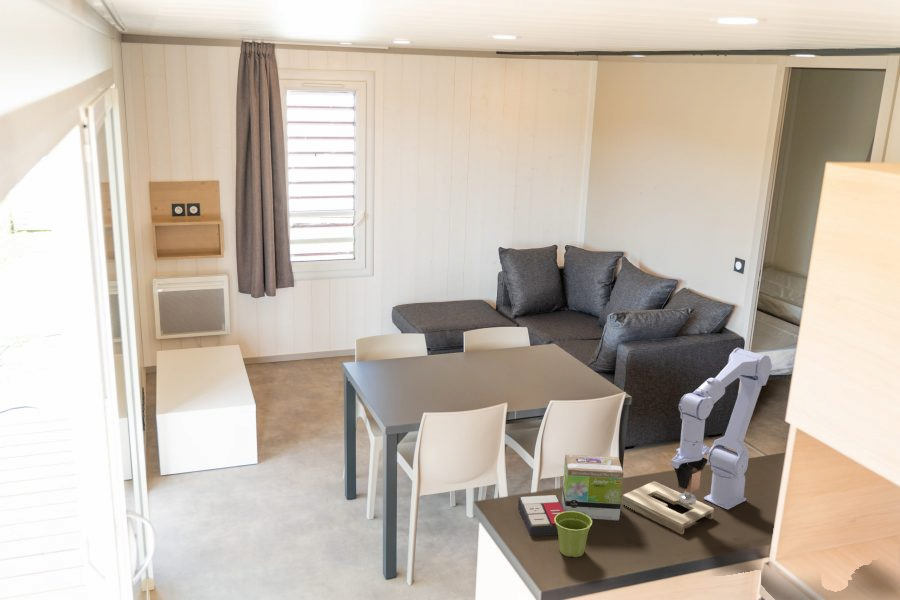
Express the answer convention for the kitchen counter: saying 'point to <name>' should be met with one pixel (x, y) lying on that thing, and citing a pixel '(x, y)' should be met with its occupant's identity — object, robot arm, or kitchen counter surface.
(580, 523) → the plant pot
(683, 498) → the peg
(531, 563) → the kitchen counter surface
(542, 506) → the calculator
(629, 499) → the keyhole plate
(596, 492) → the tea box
